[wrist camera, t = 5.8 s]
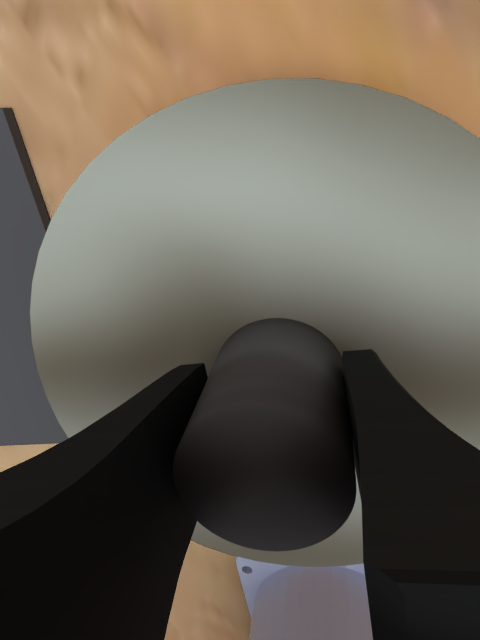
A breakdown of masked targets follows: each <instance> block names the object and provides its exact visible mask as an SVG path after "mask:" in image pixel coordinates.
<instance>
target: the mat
mask: <svg viewBox="0 0 480 640" xmlns="http://www.w3.org/2000/svg"><path fill="white" fill-rule="evenodd" d="M49 223H50V219H49V216H48V213H47V210H46V207H45V204H44V201H43V198H42V195H41V192H40V190H39V187H38V184H37V181H36V178H35V175H34V172H33V169H32V166H31V164H30V161H29V158H28V155H27V152H26V149H25V146H24V143H23V140H22V137H21V135H20V132H19V129H18V126H17V123H16V120H15V117H14V114H13V111H12V108H0V446H5V445H28V444H52V443H61V442H63V441H65V440H66V439H68V437H67V435H66V433H65V432H64V430H63V429H62V427H61V425H60V424H59V422H58V420H57V418H56V416H55V414H54V412H53V409H52V407H51V405H50V403H49V401H48V399H47V397H46V394H45V391H44V388H43V385H42V382H41V379H40V376H39V373H38V370H37V365H36V360H35V355H34V350H33V345H32V336H31V321H30V304H31V290H32V280H33V276H34V271H35V267H36V262H37V257H38V253H39V250H40V247H41V245H42V242H43V239H44V237H45V234H46V231H47V229H48V226H49Z"/></svg>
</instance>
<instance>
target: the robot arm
mask: <svg viewBox="0 0 480 640" xmlns="http://www.w3.org/2000/svg"><path fill="white" fill-rule="evenodd" d="M342 364H343V373H344V381H345V389H346V397H347V405H348V410H349V416H350V422H351V430H352V441H353V452H354V463H355V470H356V476H357V481H358V487H359V492H360V497H361V505H362V533H363V563H362V564H355V565H347V566H331V567H303V566H285V565H279V564H272V563H265V562H258V561H254V560H250V559H245V558H241V557H237V556H236V565H237V569H238V573H239V576H240V580H241V584H242V588H243V591H244V595H245V599H246V602H247V606H248V610H249V614H250V617H251V627H250V633H249V639H248V640H480V450H479V449H477V448H476V447H474V446H473V445H471V444H470V443H468V442H467V441H465V440H464V439H462V438H461V437H460V436H458V435H457V434H456V433H454V432H453V431H451V430H450V429H449V428H447V427H446V426H445V425H444V424H442V423H441V422H440V421H439V420H438V419H436V418H435V417H434V416H433V415H432V414H431V413H430V412H428V411H427V410H426V409H425V408H424V407H423V406H422V405H421V404H420V403H419V402H417V401H416V400H415V399H414V398H413V397H412V396H411V395H410V394H409V393H408V391H407V390H406V389H405V388H404V387H403V386H402V385H401V384H400V383H399V382H398V381H397V380H396V379H395V377H394V376H393V375H392V374H391V373H390V371H389V370H388V369H387V368H386V366H385V365H384V364H383V362H382V361H381V360H380V358H379V357H378V355H377V353H376V352H374V351H373V350H372V349H366V350H354V351H343V356H342ZM207 379H208V376H207V372H206V368H205V364H204V363H198V364H186V365H180V366H178V367H176V368H174V369H172V370H170V371H169V372H167V373H166V374H164V375H163V376H161V377H160V378H158V379H157V380H156V381H154V382H153V383H151V384H150V385H148V386H147V387H146V388H144V389H143V390H141V391H140V392H139V393H137V394H136V395H134V396H133V397H131V398H130V399H129V400H127V401H126V402H124V403H123V404H121V405H120V406H119V407H117V408H116V409H114V410H112V411H111V412H109V413H108V414H106V415H105V416H103V417H102V418H100V419H99V420H97V421H96V422H94V423H93V424H91V425H89V426H88V427H86V428H85V429H83V430H82V431H80V432H78V433H77V434H75V435H73V436H72V437H70V438H68V439H66V440H65V441H63V442H61V443H59V444H57V445H55V446H54V447H52V448H50V449H48V450H46V451H44V452H43V453H41V454H39V455H37V456H35V457H33V458H31V459H29V460H26V461H24V462H22V463H20V464H18V465H16V466H13V467H11V468H9V469H7V470H5V471H3V472H0V640H164V638H165V633H166V629H167V624H168V620H169V615H170V611H171V607H172V603H173V599H174V594H175V590H176V586H177V582H178V578H179V574H180V571H181V567H182V564H183V561H184V558H185V554H186V552H187V549H188V546H189V543H190V540H191V537H192V535H193V532H194V529H195V526H196V523H197V520H196V519H195V518H194V517H193V516H192V515H191V514H190V513H189V512H188V510H187V509H186V508H185V506H184V505H183V503H182V501H181V499H180V498H179V496H178V493H177V491H176V488H175V484H174V480H173V460H174V456H175V453H176V450H177V448H178V445H179V443H180V441H181V439H182V436H183V434H184V432H185V429H186V427H187V425H188V423H189V420H190V418H191V416H192V413H193V411H194V409H195V407H196V404H197V402H198V400H199V397H200V395H201V393H202V391H203V388H204V386H205V384H206V381H207Z"/></svg>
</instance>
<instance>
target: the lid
mask: <svg viewBox="0 0 480 640" xmlns="http://www.w3.org/2000/svg"><path fill="white" fill-rule="evenodd" d="M30 321H31V336H32V345H33V350H34V355H35V360H36V365H37V370H38V373H39V376H40V379H41V382H42V385H43V388H44V391H45V394H46V397H47V399H48V401H49V403H50V405H51V407H52V409H53V412H54V414H55V416H56V418H57V420H58V422H59V424H60V425H61V427H62V429H63V430H64V432H65V433H66V435H67V437H68V438H70V437H72V436H73V435H75V434H77V433H78V432H80V431H82V430H83V429H85V428H86V427H88V426H89V425H91V424H93V423H94V422H96V421H97V420H99V419H100V418H102V417H103V416H105V415H106V414H108V413H109V412H111V411H112V410H114V409H116V408H117V407H119V406H120V405H121V404H123V403H124V402H126V401H127V400H129V399H130V398H131V397H133V396H134V395H136V394H137V393H139V392H140V391H141V390H143V389H144V388H146V387H147V386H148V385H150V384H151V383H153V382H154V381H156V380H157V379H158V378H160V377H161V376H163V375H164V374H166V373H167V372H169V371H170V370H172V369H174V368H176V367H178V366H180V365H186V364H198V363H204V364H205V368H206V372H207V376H208V379H207V381H206V384H205V386H204V388H203V391H202V393H201V395H200V397H199V400H198V402H197V404H196V407H195V409H194V411H193V413H192V416H191V418H190V420H189V423H188V425H187V427H186V429H185V432H184V434H183V436H182V439H181V441H180V443H179V445H178V448H177V450H176V453H175V456H174V460H173V480H174V484H175V488H176V491H177V493H178V496H179V498H180V499H181V501H182V503H183V505H184V506H185V508H186V509H187V510H188V512H189V513H190V514H191V515H192V516H193V517H194V518H195V519H196V520H197V523H196V526H195V529H194V532H193V535H192V537H191V541H194V542H196V543H198V544H200V545H203V546H206V547H208V548H211V549H214V550H217V551H220V552H223V553H226V554H229V555H233V556H237V557H241V558H245V559H250V560H254V561H258V562H265V563H272V564H279V565H285V566H303V567H331V566H347V565H355V564H362V563H363V533H362V505H361V497H360V492H359V487H358V481H357V476H356V470H355V463H354V452H353V441H352V430H351V422H350V416H349V410H348V405H347V397H346V389H345V381H344V373H343V364H342V356H343V351H354V350H366V349H372V350H373V351H374V352H376V353H377V355H378V357H379V358H380V360H381V361H382V362H383V364H384V365H385V366H386V368H387V369H388V370H389V371H390V373H391V374H392V375H393V376H394V377H395V379H396V380H397V381H398V382H399V383H400V384H401V385H402V386H403V387H404V388H405V389H406V390H407V391H408V393H409V394H410V395H411V396H412V397H413V398H414V399H415V400H416V401H417V402H419V403H420V404H421V405H422V406H423V407H424V408H425V409H426V410H427V411H428V412H430V413H431V414H432V415H433V416H434V417H435V418H436V419H438V420H439V421H440V422H441V423H442V424H444V425H445V426H446V427H447V428H449V429H450V430H451V431H453V432H454V433H456V434H457V435H458V436H460V437H461V438H462V439H464V440H465V441H467V442H468V443H470V444H471V445H473V446H474V447H476V448H477V449H479V450H480V139H479V138H478V137H476V136H475V135H473V134H472V133H470V132H469V131H467V130H466V129H464V128H463V127H462V126H460V125H459V124H457V123H456V122H454V121H453V120H451V119H450V118H448V117H446V116H444V115H442V114H439V113H437V112H435V111H433V110H431V109H429V108H427V107H425V106H422V105H420V104H418V103H416V102H414V101H412V100H410V99H407V98H405V97H401V96H398V95H394V94H391V93H388V92H384V91H381V90H378V89H374V88H371V87H367V86H364V85H359V84H352V83H345V82H338V81H331V80H324V79H317V78H304V79H265V80H259V81H253V82H246V83H240V84H233V85H227V86H223V87H220V88H217V89H214V90H211V91H207V92H204V93H201V94H198V95H195V96H191V97H188V98H185V99H183V100H181V101H179V102H177V103H175V104H173V105H171V106H169V107H166V108H164V109H162V110H160V111H158V112H156V113H154V114H152V115H150V116H148V117H147V118H145V119H144V120H142V121H141V122H139V123H138V124H136V125H135V126H133V127H132V128H131V129H129V130H128V131H126V132H125V133H123V134H122V135H120V136H119V137H117V138H116V139H115V140H114V141H113V142H112V143H111V144H110V145H108V146H107V147H106V148H105V149H104V150H103V151H102V152H101V153H100V154H99V155H98V156H97V157H96V158H95V159H94V160H93V161H91V162H90V163H89V164H88V166H87V167H86V168H85V169H84V171H83V172H82V173H81V175H80V176H79V177H78V178H77V180H76V181H75V182H74V183H73V185H72V186H71V187H70V189H69V190H68V191H67V193H66V194H65V196H64V198H63V200H62V201H61V203H60V205H59V207H58V209H57V210H56V212H55V214H54V216H53V217H52V219H51V221H50V223H49V226H48V229H47V231H46V234H45V237H44V239H43V242H42V245H41V247H40V250H39V253H38V257H37V262H36V267H35V271H34V276H33V280H32V290H31V304H30Z"/></svg>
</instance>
